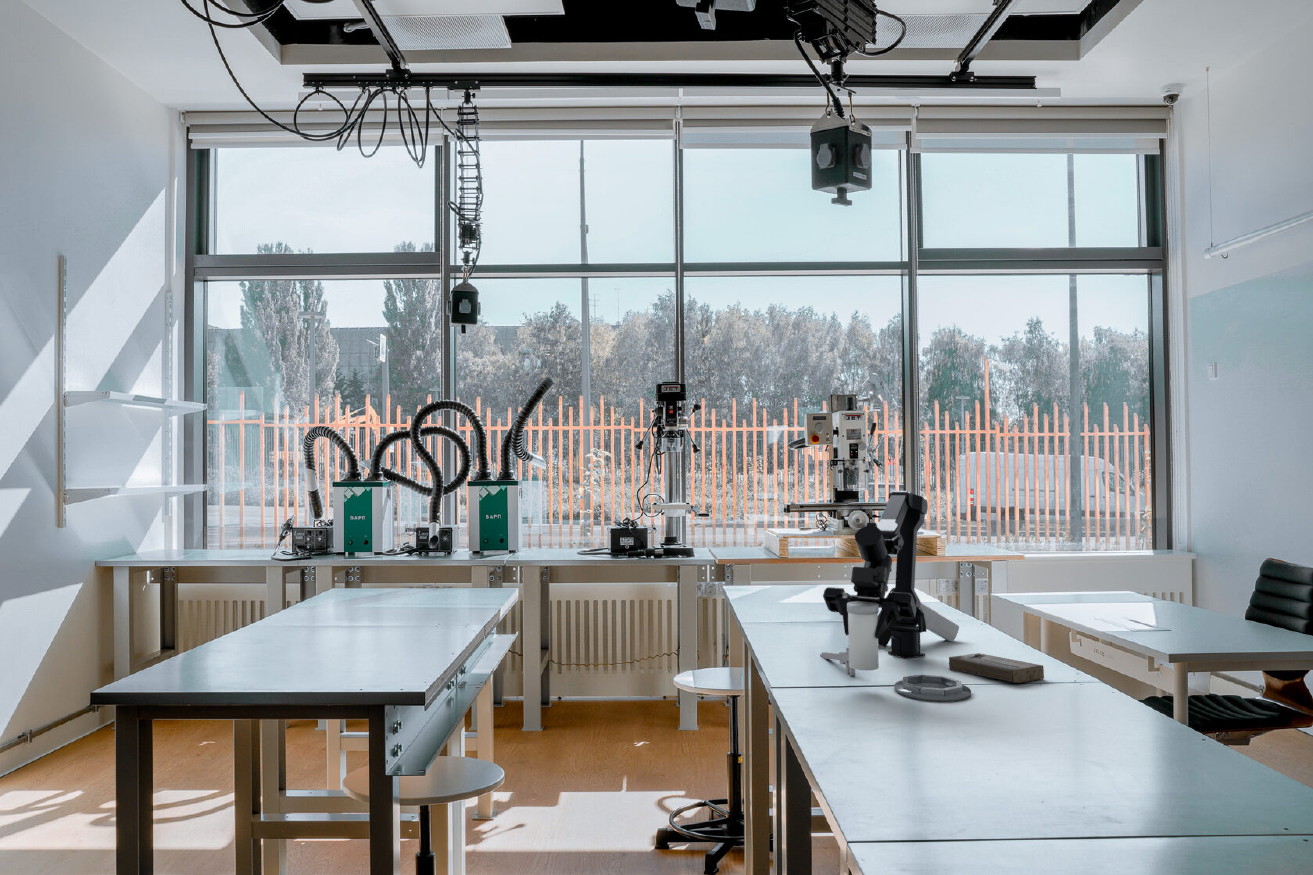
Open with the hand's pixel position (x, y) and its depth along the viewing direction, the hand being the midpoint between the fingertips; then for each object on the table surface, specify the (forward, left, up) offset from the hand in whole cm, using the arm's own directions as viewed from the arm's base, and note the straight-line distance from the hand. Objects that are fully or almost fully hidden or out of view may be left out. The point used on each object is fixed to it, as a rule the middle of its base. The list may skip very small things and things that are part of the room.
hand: (861, 635), depth 171 cm
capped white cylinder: (-1, -1, -7) cm, 7 cm away
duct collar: (-12, +7, -11) cm, 18 cm away
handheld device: (-43, -29, -12) cm, 53 cm away
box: (-35, +3, -12) cm, 37 cm away
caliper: (-10, -20, -12) cm, 25 cm away
